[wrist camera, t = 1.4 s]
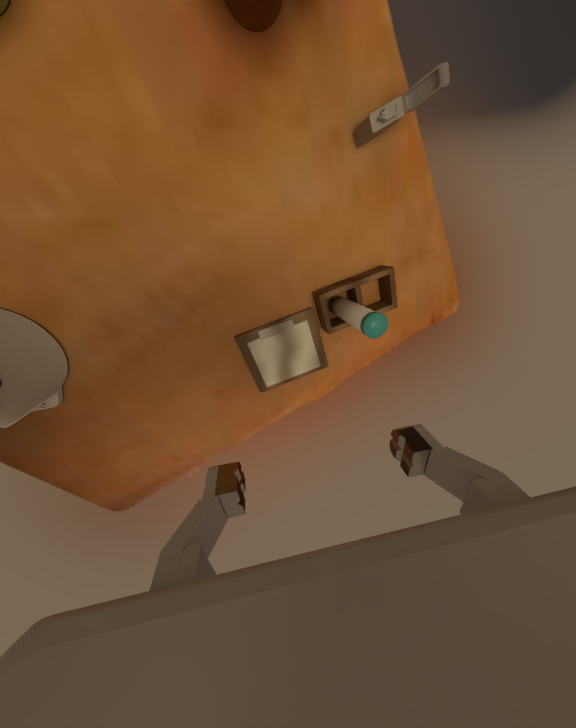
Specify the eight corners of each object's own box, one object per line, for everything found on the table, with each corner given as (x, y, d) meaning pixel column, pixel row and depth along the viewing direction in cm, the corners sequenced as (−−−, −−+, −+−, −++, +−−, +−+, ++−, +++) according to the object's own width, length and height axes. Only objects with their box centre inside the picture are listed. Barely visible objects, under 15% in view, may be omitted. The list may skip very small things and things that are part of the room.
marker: (328, 315, 40) (366, 342, 28) (324, 298, 39) (362, 319, 27) (345, 309, 40) (389, 332, 28) (341, 291, 39) (386, 309, 27)
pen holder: (321, 327, 41) (328, 334, 38) (312, 292, 38) (318, 295, 35) (385, 303, 41) (397, 307, 38) (381, 265, 38) (393, 266, 35)
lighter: (356, 148, 30) (391, 117, 23) (352, 132, 30) (387, 94, 23) (404, 120, 30) (454, 79, 23) (401, 103, 29) (452, 56, 22)
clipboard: (260, 390, 44) (261, 395, 43) (234, 336, 38) (234, 339, 37) (327, 364, 44) (330, 368, 43) (311, 306, 39) (314, 308, 37)
